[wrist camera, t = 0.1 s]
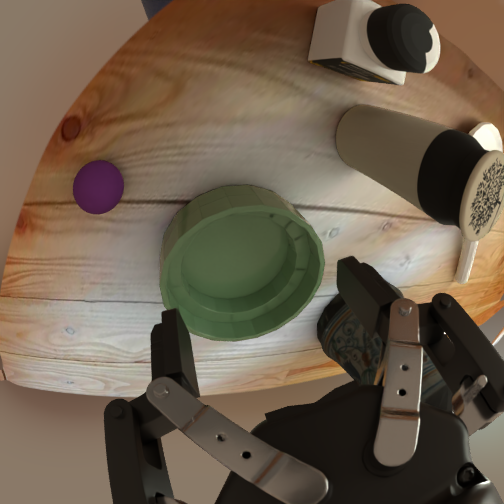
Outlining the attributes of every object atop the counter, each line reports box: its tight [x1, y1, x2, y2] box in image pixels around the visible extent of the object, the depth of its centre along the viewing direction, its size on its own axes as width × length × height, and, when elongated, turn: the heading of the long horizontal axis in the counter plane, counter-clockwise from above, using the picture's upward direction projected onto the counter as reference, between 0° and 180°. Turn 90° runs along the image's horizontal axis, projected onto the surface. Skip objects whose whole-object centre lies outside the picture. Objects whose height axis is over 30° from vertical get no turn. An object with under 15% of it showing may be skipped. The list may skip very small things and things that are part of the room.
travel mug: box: [336, 105, 504, 241], centre depth 22 cm, size 8×8×18 cm
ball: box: [73, 160, 124, 214], centre depth 23 cm, size 5×5×5 cm
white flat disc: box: [455, 123, 503, 284], centre depth 40 cm, size 35×19×5 cm, turn 20°
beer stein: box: [317, 279, 453, 413], centre depth 37 cm, size 16×19×25 cm
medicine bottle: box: [308, 0, 440, 85], centre depth 18 cm, size 7×7×12 cm
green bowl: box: [159, 185, 325, 342], centre depth 31 cm, size 17×17×6 cm
